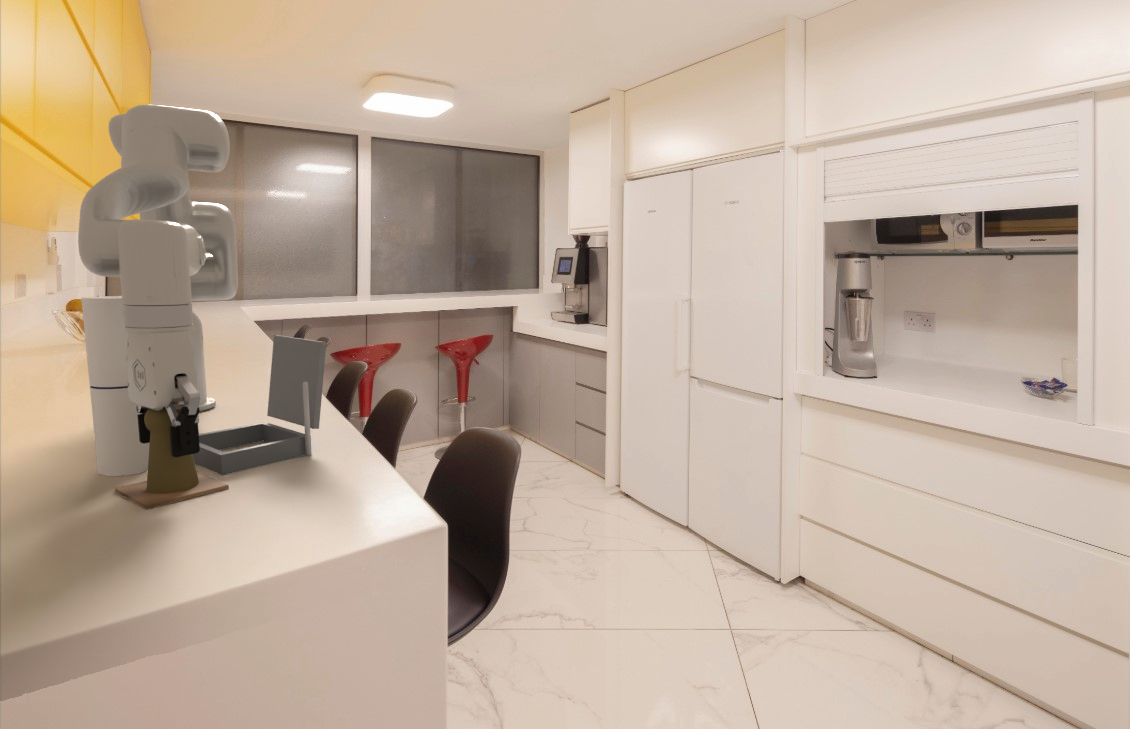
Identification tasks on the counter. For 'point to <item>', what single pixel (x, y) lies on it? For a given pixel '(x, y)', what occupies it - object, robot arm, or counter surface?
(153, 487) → the cork
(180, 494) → the walnut pad
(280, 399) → the case lid
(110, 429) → the cylindrical container
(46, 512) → the counter surface
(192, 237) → the robot arm
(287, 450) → the case
